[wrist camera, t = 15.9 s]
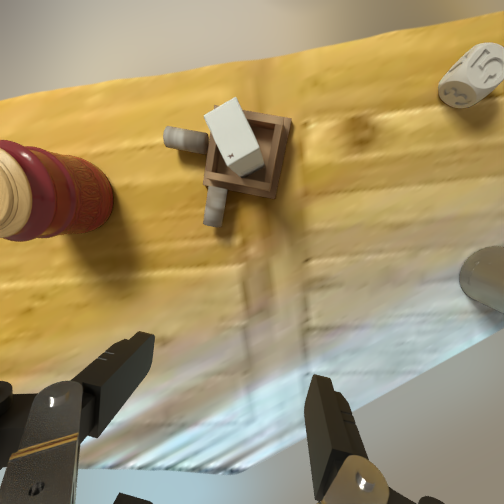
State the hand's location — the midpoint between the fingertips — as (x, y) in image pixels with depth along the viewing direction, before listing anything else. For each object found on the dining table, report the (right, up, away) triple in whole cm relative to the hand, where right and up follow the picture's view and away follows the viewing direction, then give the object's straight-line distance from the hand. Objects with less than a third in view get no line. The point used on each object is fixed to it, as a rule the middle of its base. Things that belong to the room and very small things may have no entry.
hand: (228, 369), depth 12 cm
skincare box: (0, +21, +26) cm, 33 cm away
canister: (-29, +16, +31) cm, 46 cm away
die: (+30, +29, +22) cm, 47 cm away
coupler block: (-3, +19, +27) cm, 34 cm away
